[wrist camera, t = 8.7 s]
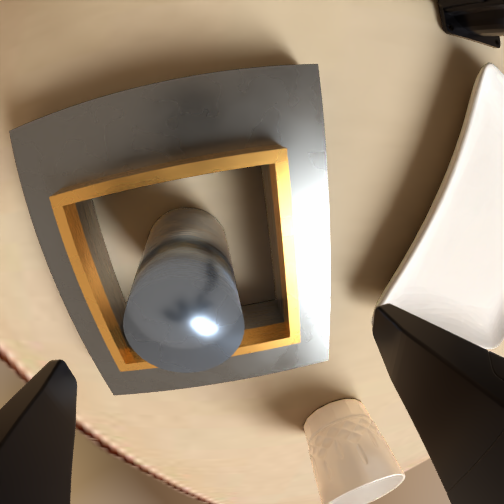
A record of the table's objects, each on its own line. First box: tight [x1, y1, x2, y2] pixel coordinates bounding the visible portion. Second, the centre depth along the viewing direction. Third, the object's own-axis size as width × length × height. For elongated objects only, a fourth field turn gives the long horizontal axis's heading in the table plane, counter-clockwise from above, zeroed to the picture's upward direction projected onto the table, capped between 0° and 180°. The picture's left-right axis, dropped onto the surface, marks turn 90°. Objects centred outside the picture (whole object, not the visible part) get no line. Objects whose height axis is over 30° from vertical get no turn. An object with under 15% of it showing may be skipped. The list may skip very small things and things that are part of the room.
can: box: [123, 208, 245, 373], centre depth 16 cm, size 5×5×8 cm
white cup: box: [304, 399, 405, 504], centre depth 26 cm, size 8×8×10 cm
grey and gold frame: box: [9, 64, 330, 395], centre depth 18 cm, size 16×19×4 cm
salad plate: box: [372, 63, 504, 349], centre depth 22 cm, size 21×21×3 cm
